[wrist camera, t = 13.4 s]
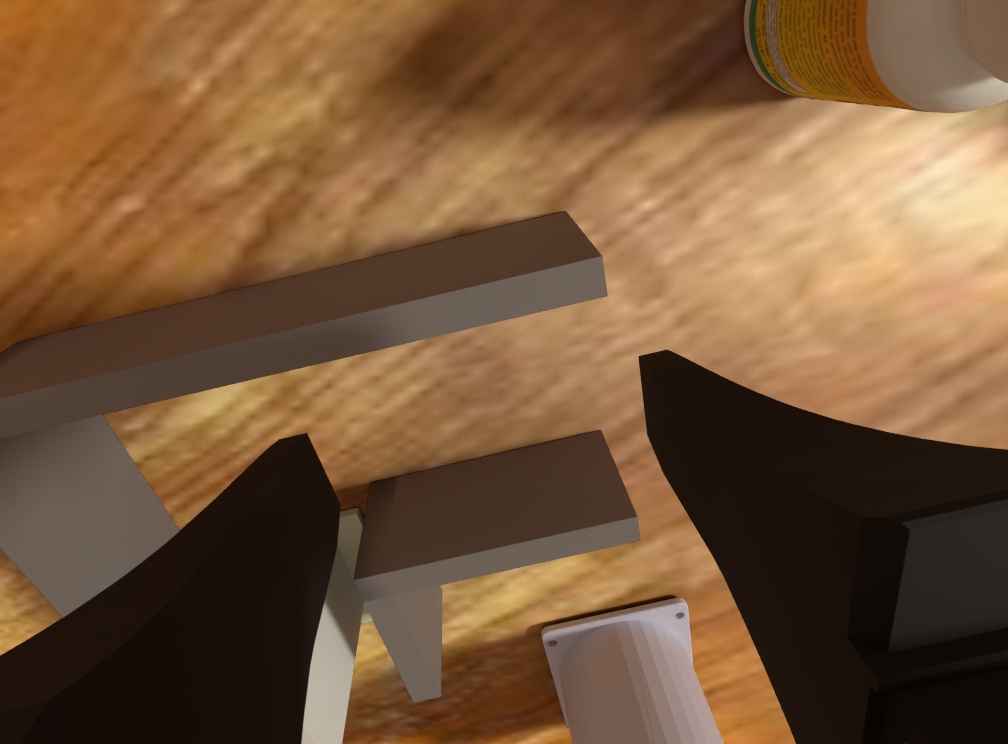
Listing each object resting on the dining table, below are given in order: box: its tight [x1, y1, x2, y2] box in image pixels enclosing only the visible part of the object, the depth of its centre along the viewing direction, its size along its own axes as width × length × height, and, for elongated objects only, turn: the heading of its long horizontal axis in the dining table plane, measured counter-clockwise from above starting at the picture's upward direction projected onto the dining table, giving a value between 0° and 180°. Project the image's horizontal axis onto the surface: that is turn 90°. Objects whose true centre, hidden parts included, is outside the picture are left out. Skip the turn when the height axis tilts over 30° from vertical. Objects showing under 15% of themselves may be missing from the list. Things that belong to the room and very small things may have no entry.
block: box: [301, 545, 364, 744], centre depth 24 cm, size 4×4×8 cm
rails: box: [0, 211, 641, 703], centre depth 23 cm, size 18×21×6 cm
